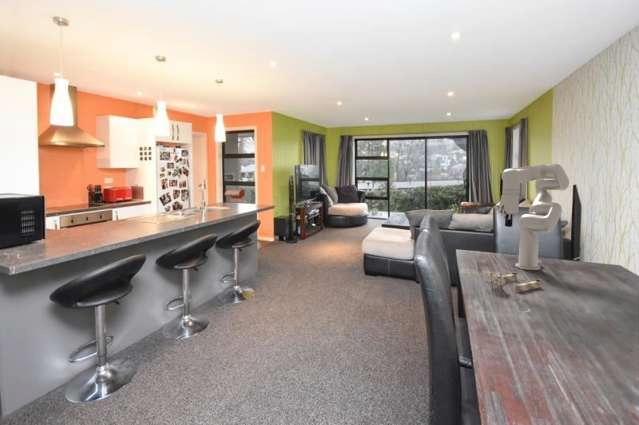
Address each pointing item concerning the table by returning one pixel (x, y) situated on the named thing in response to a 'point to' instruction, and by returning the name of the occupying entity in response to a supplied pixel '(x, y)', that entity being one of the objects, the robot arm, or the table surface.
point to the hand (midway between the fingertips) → (508, 226)
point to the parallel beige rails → (525, 285)
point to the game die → (496, 282)
